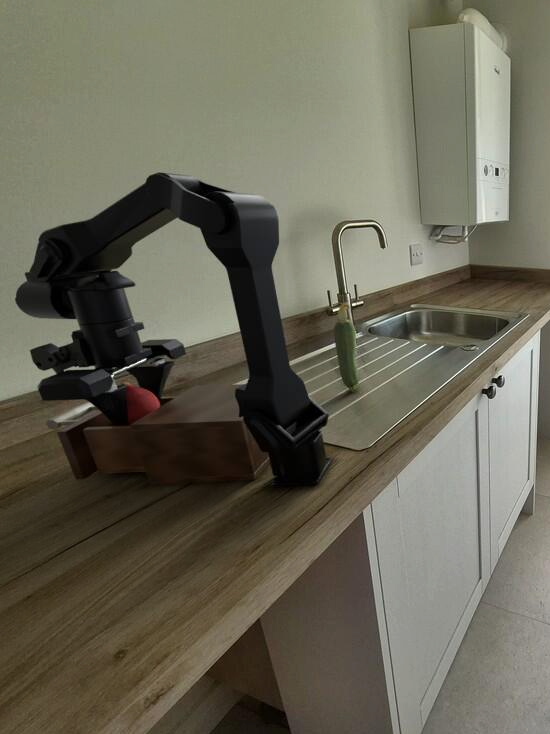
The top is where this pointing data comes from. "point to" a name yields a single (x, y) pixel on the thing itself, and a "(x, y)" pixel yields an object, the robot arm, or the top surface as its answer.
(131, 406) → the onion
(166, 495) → the top surface
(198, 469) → the cabinet
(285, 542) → the top surface
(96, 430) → the drawer
